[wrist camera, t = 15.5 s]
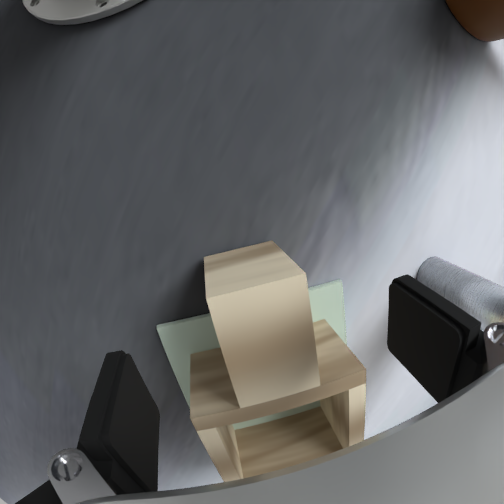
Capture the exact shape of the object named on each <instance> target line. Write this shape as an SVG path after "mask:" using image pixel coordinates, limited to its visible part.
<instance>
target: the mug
mask: <svg viewBox="0 0 504 504" xmlns="http://www.w3.org/2000/svg"><path fill="white" fill-rule="evenodd" d="M445 1H446V3H447V5H448V7H449V9H450V10H451V12H452V13H453V15H454V16H455V18H456V19H457V20H458V22H459V23H460V24H461V25H462V26H463V27H464V28H465V29H466V30H467V31H468V32H469V33H470V34H471V35H473V36H474V37H475V38H477V39H479V40H482V41H486V42H491V41H496V40H500V39H504V0H445Z"/></svg>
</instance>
